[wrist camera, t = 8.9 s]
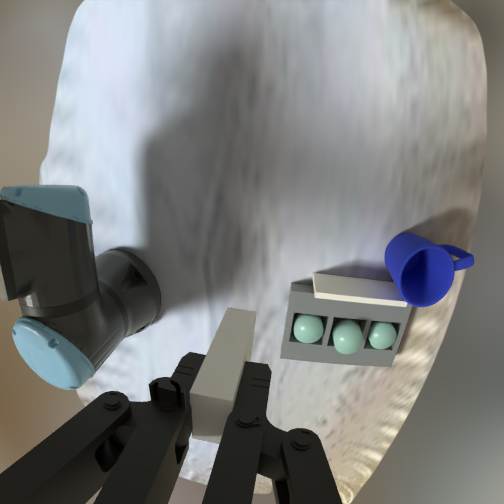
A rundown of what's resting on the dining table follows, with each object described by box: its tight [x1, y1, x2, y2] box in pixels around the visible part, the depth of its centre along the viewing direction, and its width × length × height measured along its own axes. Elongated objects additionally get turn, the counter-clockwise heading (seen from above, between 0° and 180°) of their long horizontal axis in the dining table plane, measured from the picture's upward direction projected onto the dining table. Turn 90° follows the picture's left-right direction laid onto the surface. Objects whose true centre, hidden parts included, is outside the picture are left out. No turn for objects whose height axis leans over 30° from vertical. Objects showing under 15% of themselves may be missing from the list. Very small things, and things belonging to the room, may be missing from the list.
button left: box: [294, 313, 323, 343], centre depth 46 cm, size 4×4×3 cm
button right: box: [368, 321, 397, 349], centre depth 45 cm, size 4×4×3 cm
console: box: [280, 283, 412, 367], centre depth 46 cm, size 19×12×3 cm, turn 85°
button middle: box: [332, 319, 364, 354], centre depth 43 cm, size 4×4×3 cm
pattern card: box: [312, 273, 407, 307], centre depth 41 cm, size 13×1×7 cm, turn 85°
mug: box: [385, 233, 474, 307], centre depth 37 cm, size 8×12×10 cm
